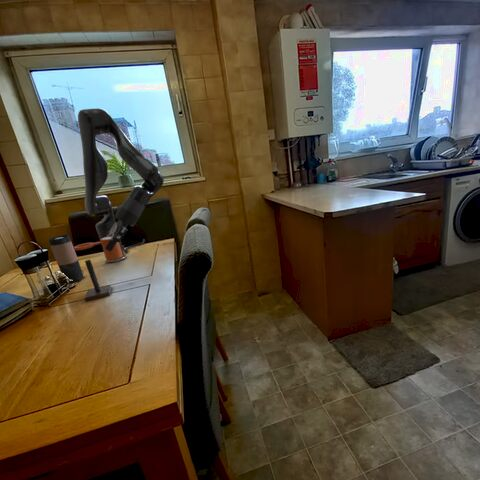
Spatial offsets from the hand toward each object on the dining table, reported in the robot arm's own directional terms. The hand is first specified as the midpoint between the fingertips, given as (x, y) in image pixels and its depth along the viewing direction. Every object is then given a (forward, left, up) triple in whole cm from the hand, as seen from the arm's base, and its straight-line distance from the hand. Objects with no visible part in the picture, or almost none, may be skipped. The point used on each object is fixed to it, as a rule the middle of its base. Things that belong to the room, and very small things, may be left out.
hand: (106, 248), depth 106 cm
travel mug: (-23, -20, -17) cm, 35 cm away
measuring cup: (+1, -3, -4) cm, 5 cm away
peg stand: (+3, -7, -16) cm, 18 cm away
